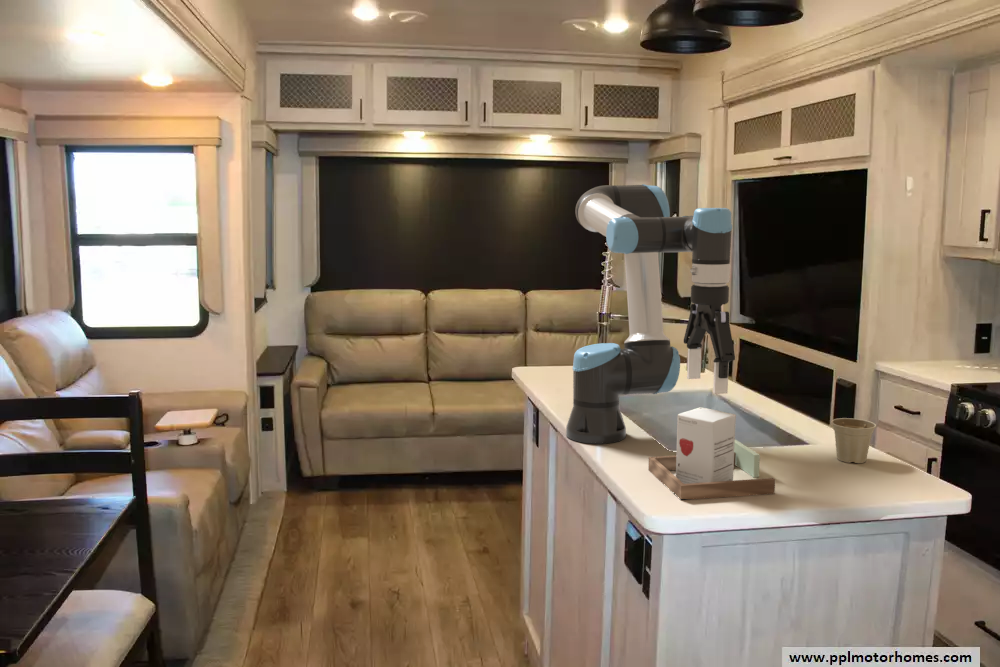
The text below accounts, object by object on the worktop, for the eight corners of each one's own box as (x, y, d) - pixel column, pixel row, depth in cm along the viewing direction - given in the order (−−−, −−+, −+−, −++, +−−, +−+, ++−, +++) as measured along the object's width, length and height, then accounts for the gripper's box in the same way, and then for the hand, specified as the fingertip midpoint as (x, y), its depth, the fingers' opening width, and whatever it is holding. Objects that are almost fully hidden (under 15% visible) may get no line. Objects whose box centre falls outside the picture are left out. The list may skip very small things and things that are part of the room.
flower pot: (836, 451, 191) (838, 415, 189) (878, 458, 185) (881, 422, 183) (823, 460, 184) (825, 424, 182) (867, 468, 178) (869, 431, 176)
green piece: (717, 452, 191) (718, 431, 190) (730, 451, 191) (730, 431, 190) (753, 477, 173) (754, 455, 172) (767, 476, 173) (768, 454, 172)
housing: (648, 470, 178) (648, 457, 178) (733, 464, 181) (733, 451, 181) (680, 500, 160) (681, 485, 159) (774, 493, 163) (775, 479, 162)
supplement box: (673, 482, 170) (675, 413, 168) (697, 472, 176) (699, 406, 174) (711, 492, 164) (713, 421, 162) (734, 482, 170) (737, 413, 168)
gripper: (670, 278, 175) (667, 373, 179) (718, 291, 151) (714, 401, 155) (702, 277, 177) (699, 372, 180) (755, 290, 152) (751, 399, 156)
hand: (706, 385), depth 167 cm, fingers open, 13 cm apart
